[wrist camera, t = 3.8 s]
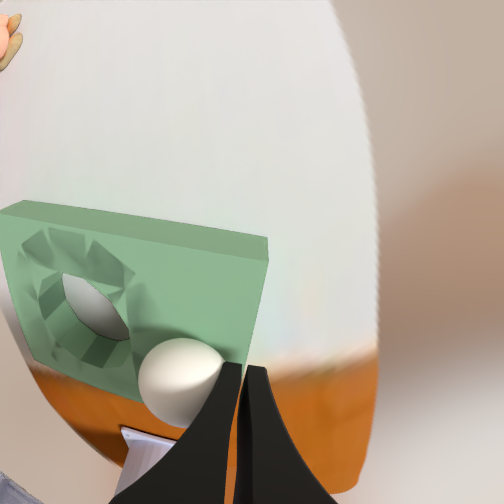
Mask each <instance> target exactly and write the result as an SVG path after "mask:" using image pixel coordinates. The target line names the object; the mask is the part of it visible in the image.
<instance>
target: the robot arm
mask: <svg viewBox="0 0 504 504" xmlns="http://www.w3.org/2000/svg"><path fill="white" fill-rule="evenodd" d="M241 379H242V364H239V363H233V362H227V361H226V362H223V365H222V368H221V371H220V374H219V376H218V379H217V381H216V383H215V385H214V387H213V389H212V391H211V393H210V395H209V396H208V398H207V400H206V402H205V403H204V405H203V407H202V408H201V410H200V411H199V413H198V414H197V416H196V417H195V419H194V420H193V422H192V423H191V424H190V426H189V427H188V428H187V430H186V431H185V432H184V433H183V435H182V436H181V437H180V438H179V440H178V441H173V440H168V439H164V438H161V437H157V436H153V435H149V434H146V433H143V432H139V431H136V430H133V429H130V428H127V427H122V429H121V432H122V434H123V437H124V439H125V441H126V443H127V445H128V447H129V451H128V454H127V457H126V460H125V463H124V466H123V469H122V472H121V476H120V478H119V482H118V485H117V488H116V491H115V495H114V497H113V499H112V500H111V501H110V502H109V504H224V496H225V483H226V471H227V459H228V448H229V438H230V431H231V425H232V421H233V416H234V412H235V407H236V403H237V398H238V394H239V389H240V385H241ZM0 504H44V503H42V502H41V501H39V500H38V499H36V498H35V497H33V496H32V495H30V494H29V493H27V492H26V490H25V489H24V488H22V487H21V486H20V485H18V484H17V483H15V482H14V481H13V480H12V479H10V478H9V477H8V476H6V475H5V474H4V473H2V472H1V471H0ZM233 504H338V503H337V502H336V501H335V500H334V499H333V498H332V497H331V496H330V495H329V494H328V492H327V491H326V490H325V489H324V488H323V486H322V485H321V484H320V483H319V481H318V480H317V479H316V477H315V476H314V475H313V474H312V472H311V471H310V469H309V468H308V466H307V465H306V463H305V462H304V460H303V459H302V457H301V455H300V454H299V452H298V450H297V449H296V447H295V445H294V443H293V441H292V439H291V437H290V435H289V433H288V431H287V429H286V427H285V425H284V422H283V420H282V418H281V415H280V413H279V410H278V408H277V405H276V402H275V399H274V396H273V393H272V390H271V387H270V383H269V379H268V375H267V370H266V368H265V367H260V366H253V365H248V367H247V371H246V375H245V378H244V382H243V386H242V390H241V393H240V399H239V407H238V415H237V472H236V482H235V491H234V498H233Z"/></svg>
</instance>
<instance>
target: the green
mask: <svg viewBox="0 0 504 504" xmlns="http://www.w3.org/2000/svg"><path fill="white" fill-rule="evenodd" d="M0 251H1V256H2V261H3V266H4V271H5V275H6V279H7V283H8V287H9V290H10V294H11V298H12V301H13V304H14V307H15V311H16V314H17V317H18V320H19V323H20V325H21V328H22V331H23V333H24V336H25V339H26V341H27V344H28V346H29V349H30V351H31V353H32V356H33V358H34V359H35V360H36V361H38V362H40V363H42V364H44V365H46V366H48V367H50V368H52V369H54V370H56V371H59V372H61V373H63V374H65V375H67V376H70V377H72V378H74V379H77V380H79V381H81V382H84V383H86V384H89V385H91V386H94V387H96V388H99V389H102V390H104V391H107V392H110V393H113V394H116V395H119V396H122V397H125V398H128V399H131V400H134V401H138V402H141V403H144V401H143V399H142V397H141V394H140V391H139V385H138V375H139V370H140V367H141V364H142V362H143V360H144V358H145V357H146V355H147V354H148V353H149V352H150V351H151V350H152V349H153V348H154V347H156V346H157V345H159V344H160V343H162V342H164V341H167V340H171V339H176V338H190V339H194V340H198V341H201V342H203V343H205V344H207V345H209V346H210V347H212V348H213V349H215V350H216V351H217V352H218V353H219V354H220V355H221V356H222V358H223V359H224V360H225V362H226V361H227V362H233V363H239V364H242V376H243V372H244V368H245V364H246V360H247V355H248V351H249V347H250V343H251V338H252V334H253V330H254V325H255V321H256V317H257V312H258V308H259V303H260V299H261V294H262V290H263V285H264V281H265V276H266V272H267V267H268V263H269V258H268V241H267V237H262V236H256V235H251V234H245V233H239V232H233V231H227V230H221V229H215V228H209V227H203V226H197V225H191V224H185V223H179V222H172V221H166V220H160V219H153V218H147V217H140V216H134V215H127V214H120V213H114V212H107V211H100V210H93V209H86V208H79V207H72V206H65V205H57V204H50V203H42V202H35V201H27V200H23V201H21V202H18V203H16V204H13V205H11V206H9V207H6V208H4V209H2V210H0ZM63 273H66V274H69V275H73V276H76V277H80V278H84V279H85V280H86V281H87V282H88V283H89V284H91V285H92V286H93V287H94V288H95V289H97V290H98V291H99V292H100V293H102V294H103V295H104V296H105V297H107V298H108V299H109V300H110V301H111V302H112V304H113V306H114V307H115V309H116V310H117V312H118V313H119V315H120V317H121V318H122V320H123V321H124V323H125V324H126V326H127V327H128V329H129V336H130V339H128V340H123V341H116V340H112V339H109V338H106V337H103V336H100V335H97V334H96V333H95V332H93V331H92V330H91V329H90V328H88V327H87V326H86V325H85V324H83V323H82V322H81V321H80V320H79V319H78V318H77V316H76V315H75V313H74V312H73V310H72V309H71V307H70V305H69V304H68V302H67V300H66V298H65V293H64V288H63V282H62V275H63ZM241 380H242V379H241Z"/></svg>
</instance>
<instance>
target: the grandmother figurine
mask: <svg viewBox="0 0 504 504" xmlns="http://www.w3.org/2000/svg"><path fill="white" fill-rule="evenodd" d="M20 20H21V14H16V15H14V16H12V17H10V18H9V19H8V15H3V14H0V71H2V70H3V69H5V67H6V66H7V65H8V63H9V62H10V61H11V59H12V58H13V56H14V55H15V54H16V52H17V51H18V49H19V48H20V46H21V43H22V39H23V38H22V34H21V33H16V34H14V35H12V36H11V37H10V38H9V36H10V35H11V34H12V33H13V32H14V31H15V30H16V29H17V27H18V25H19V23H20Z"/></svg>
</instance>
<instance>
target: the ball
mask: <svg viewBox="0 0 504 504" xmlns="http://www.w3.org/2000/svg"><path fill="white" fill-rule="evenodd" d="M223 362H225V360H224V359H223V358H222V356H221V355H220V354H219V353H218V352H217V351H216V350H215V349H213V348H212V347H210V346H209V345H207V344H205V343H203V342H201V341H198V340H194V339H190V338H176V339H171V340H167V341H164V342H162V343H160V344H159V345H157V346H156V347H154V348H153V349H152V350H151V351H150V352H149V353H148V354H147V355H146V357H145V358H144V360H143V362H142V364H141V367H140V370H139V375H138V385H139V391H140V394H141V397H142V399H143V401H144V403H145V405H146V406H147V408H148V409H149V410H150V411H151V412H152V413H153V414H154V415H155V416H156V417H157V418H159V419H160V420H162V421H163V422H165V423H167V424H170V425H172V426H176V427H181V428H188V427H189V426H190V424H191V423H192V422H193V420H194V419H195V417H196V416H197V414H198V413H199V411H200V410H201V408H202V407H203V405H204V403H205V402H206V400H207V398H208V396H209V395H210V393H211V391H212V389H213V387H214V385H215V383H216V381H217V379H218V376H219V374H220V371H221V368H222V365H223Z"/></svg>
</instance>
